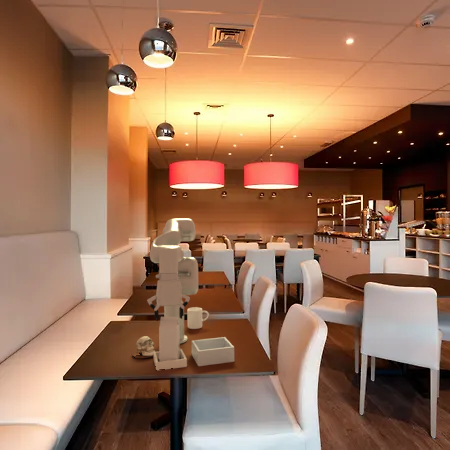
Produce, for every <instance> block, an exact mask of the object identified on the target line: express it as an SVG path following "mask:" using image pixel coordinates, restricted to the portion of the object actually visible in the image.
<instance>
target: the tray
mask: <svg viewBox="0 0 450 450" xmlns="http://www.w3.org/2000/svg"><path fill="white" fill-rule="evenodd" d="M153 362H154V367H155V366H156V367H155V370H157V371H160V370H159V369H165V370H171V368H173V369H179V368H187V366H188V359H187V356H186V354H185V353H184V351H183V348H180V359H178V360H170V361H162V362H159V351H158V352H153Z"/></svg>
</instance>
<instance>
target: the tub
mask: <svg viewBox="0 0 450 450" xmlns="http://www.w3.org/2000/svg"><path fill="white" fill-rule="evenodd" d="M191 356H192V357H193V359H194V361H195V363H196V365H197V367H203V366H210V365H218V364H220V365H221V364H225V363H233V362H234V363H235V346H234V345H233V344H232V343H231V342H230V340H228V339H227V337H226V336H224V337H223V336H221V337H214V338H213V337H212V338H203V339H195V340H191Z"/></svg>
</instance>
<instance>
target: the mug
mask: <svg viewBox="0 0 450 450" xmlns="http://www.w3.org/2000/svg"><path fill="white" fill-rule="evenodd" d="M186 311H187V315H186V316H187V329H191V330H197V329H201V328H203V322H205V321H206V320H208V318H209V316H210V313H209V312H208V311H207V310H203V308H202V307H198V306H195V307H194V306H193V307H189V308H187V310H186ZM203 313H205V314H206V317H205V318H203Z"/></svg>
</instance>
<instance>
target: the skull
mask: <svg viewBox="0 0 450 450" xmlns="http://www.w3.org/2000/svg"><path fill="white" fill-rule="evenodd" d="M154 346H155V343H154V342H153V339H152V338H151V337H149V336H147V335H145V336H141V337H140V338H139V339H138V340H137V341H136V343H135V348H136V351H137V353H138V352H139V354H140V355H136V356H135V359H146V358H147V359H148V358H154V356H153V352H158V351H159V349H157V348H155V347H154Z"/></svg>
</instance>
